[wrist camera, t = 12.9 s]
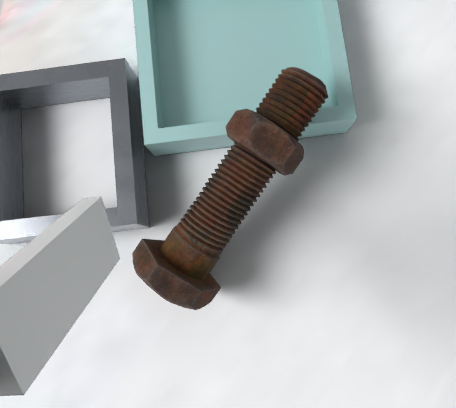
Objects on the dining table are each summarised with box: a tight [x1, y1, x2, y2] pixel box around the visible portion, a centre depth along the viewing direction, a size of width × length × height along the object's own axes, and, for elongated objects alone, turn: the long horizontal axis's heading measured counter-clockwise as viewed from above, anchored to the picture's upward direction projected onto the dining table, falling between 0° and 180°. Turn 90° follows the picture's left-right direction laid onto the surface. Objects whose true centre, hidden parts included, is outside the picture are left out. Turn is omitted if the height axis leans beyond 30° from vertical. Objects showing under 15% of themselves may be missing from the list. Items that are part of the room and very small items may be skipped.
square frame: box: [0, 58, 150, 244], centre depth 26 cm, size 10×11×3 cm
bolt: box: [133, 67, 328, 310], centre depth 23 cm, size 6×5×15 cm
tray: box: [133, 0, 357, 156], centre depth 27 cm, size 14×13×3 cm
